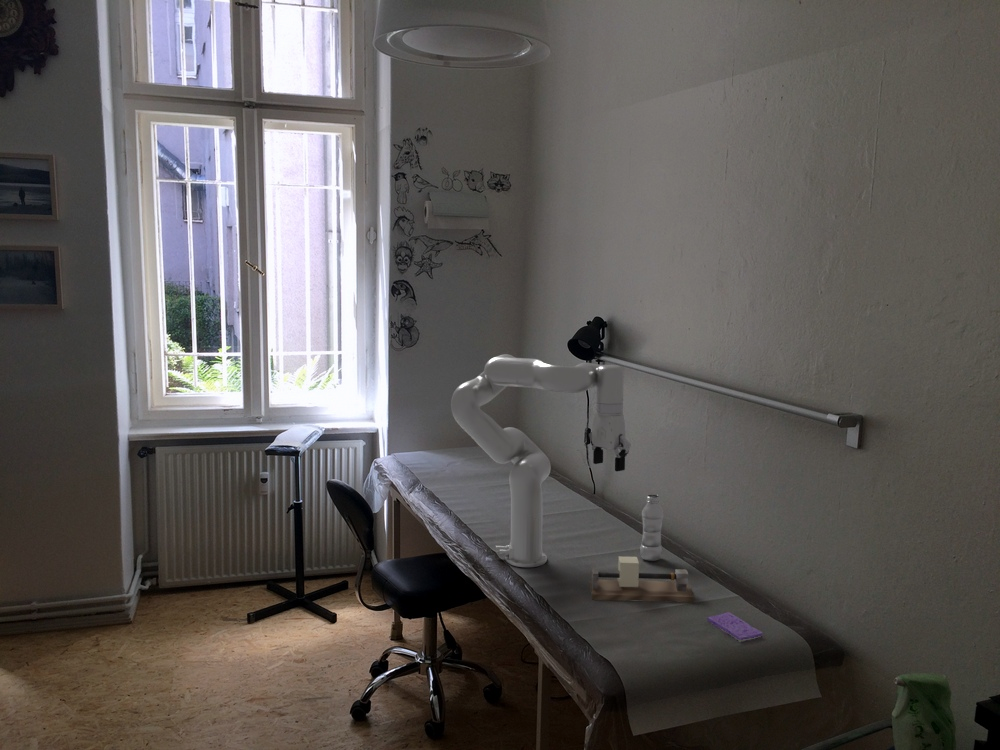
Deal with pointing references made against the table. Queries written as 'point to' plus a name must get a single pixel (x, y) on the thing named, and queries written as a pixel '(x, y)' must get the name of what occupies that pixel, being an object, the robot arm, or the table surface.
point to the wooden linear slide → (642, 587)
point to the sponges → (734, 626)
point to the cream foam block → (628, 571)
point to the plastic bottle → (652, 529)
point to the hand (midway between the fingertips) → (608, 466)
